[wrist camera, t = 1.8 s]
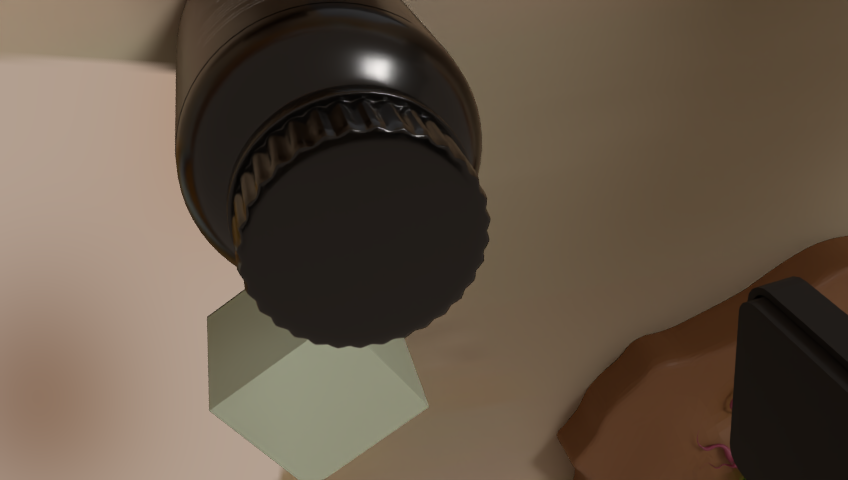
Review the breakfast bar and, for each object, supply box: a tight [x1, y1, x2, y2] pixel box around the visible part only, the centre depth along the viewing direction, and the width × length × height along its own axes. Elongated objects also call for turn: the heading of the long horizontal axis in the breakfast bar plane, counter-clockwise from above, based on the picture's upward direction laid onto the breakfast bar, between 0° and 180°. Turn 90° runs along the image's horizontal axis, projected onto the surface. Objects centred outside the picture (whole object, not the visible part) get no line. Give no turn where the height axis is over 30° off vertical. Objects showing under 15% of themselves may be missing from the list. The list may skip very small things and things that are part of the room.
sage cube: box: [207, 289, 429, 480], centre depth 28 cm, size 5×5×5 cm
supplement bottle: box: [175, 0, 490, 348], centre depth 20 cm, size 7×7×12 cm
